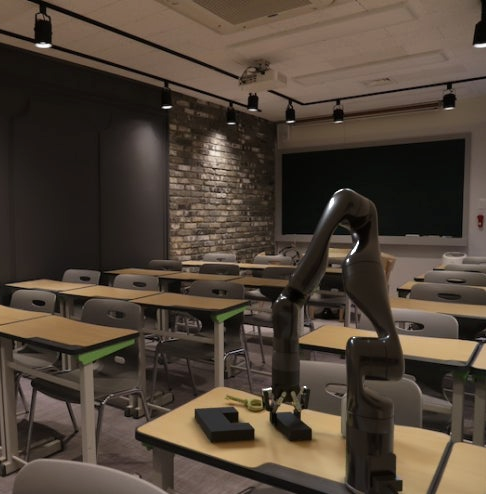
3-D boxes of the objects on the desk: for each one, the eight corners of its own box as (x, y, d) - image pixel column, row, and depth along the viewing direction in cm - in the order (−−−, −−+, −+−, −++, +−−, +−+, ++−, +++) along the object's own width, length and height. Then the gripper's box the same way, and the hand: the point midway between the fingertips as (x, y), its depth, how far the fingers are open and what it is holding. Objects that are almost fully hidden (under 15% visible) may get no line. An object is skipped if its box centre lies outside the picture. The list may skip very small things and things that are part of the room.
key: (224, 400, 159) (224, 393, 159) (264, 403, 156) (264, 396, 156) (224, 408, 152) (224, 402, 152) (265, 412, 149) (265, 405, 149)
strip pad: (290, 421, 142) (290, 411, 142) (311, 439, 130) (311, 428, 130) (270, 422, 141) (270, 412, 141) (290, 441, 129) (290, 430, 129)
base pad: (254, 439, 130) (254, 428, 130) (211, 442, 129) (211, 431, 129) (233, 416, 146) (233, 406, 146) (194, 418, 145) (194, 408, 144)
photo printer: (359, 426, 138) (360, 383, 137) (374, 431, 134) (375, 387, 134) (338, 435, 132) (338, 390, 132) (353, 441, 129) (354, 395, 128)
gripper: (303, 361, 142) (302, 417, 143) (255, 363, 141) (255, 420, 142) (316, 368, 135) (315, 428, 136) (266, 371, 133) (266, 431, 134)
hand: (285, 423), depth 139 cm, fingers closed on strip pad, 6 cm apart
